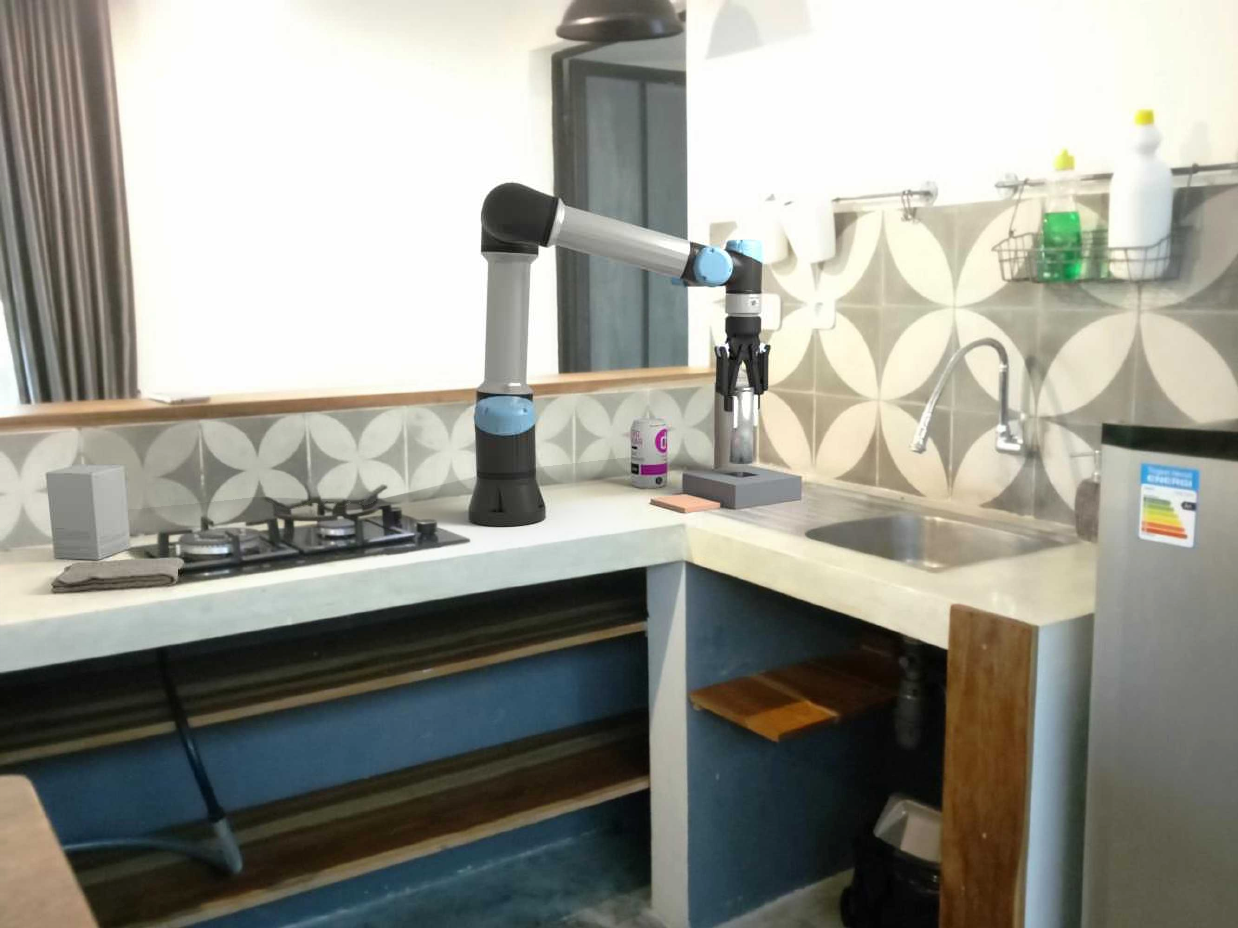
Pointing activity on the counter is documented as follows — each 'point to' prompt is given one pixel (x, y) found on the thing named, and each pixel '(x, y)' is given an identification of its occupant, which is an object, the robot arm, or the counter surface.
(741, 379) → the thermos bottle
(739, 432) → the shiny metal cylinder
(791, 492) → the block
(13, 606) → the counter surface
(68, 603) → the counter surface
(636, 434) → the supplement can
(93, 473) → the supplement box
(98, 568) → the washcloth
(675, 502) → the pad
